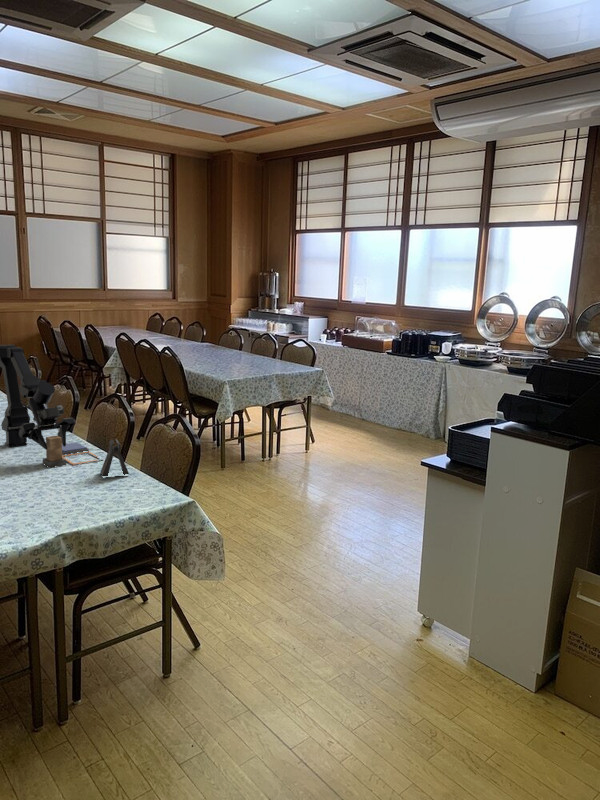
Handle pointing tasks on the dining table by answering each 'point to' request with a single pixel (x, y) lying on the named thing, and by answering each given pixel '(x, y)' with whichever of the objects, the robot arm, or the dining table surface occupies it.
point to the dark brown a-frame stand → (109, 458)
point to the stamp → (54, 452)
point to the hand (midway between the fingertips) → (55, 447)
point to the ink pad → (73, 448)
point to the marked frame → (76, 454)
